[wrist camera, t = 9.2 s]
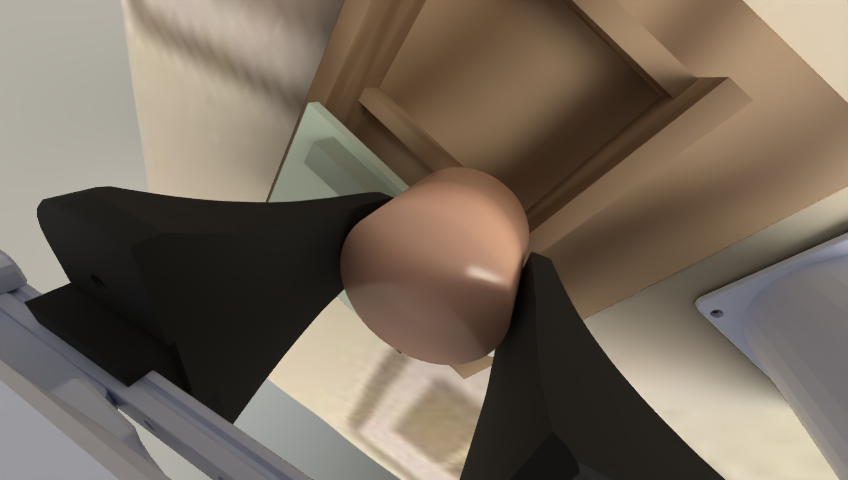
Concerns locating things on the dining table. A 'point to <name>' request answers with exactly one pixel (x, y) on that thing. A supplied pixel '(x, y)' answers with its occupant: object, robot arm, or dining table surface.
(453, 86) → the brown wooden tray
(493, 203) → the tan domed cylinder
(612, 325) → the dining table surface
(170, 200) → the robot arm
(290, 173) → the lid
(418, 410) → the dining table surface
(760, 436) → the dining table surface
